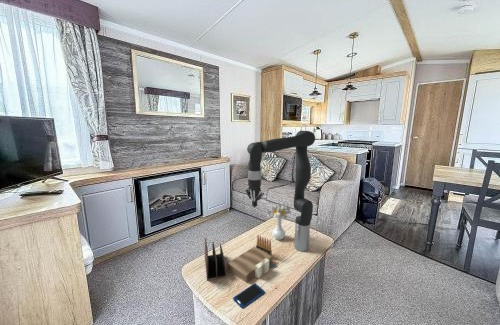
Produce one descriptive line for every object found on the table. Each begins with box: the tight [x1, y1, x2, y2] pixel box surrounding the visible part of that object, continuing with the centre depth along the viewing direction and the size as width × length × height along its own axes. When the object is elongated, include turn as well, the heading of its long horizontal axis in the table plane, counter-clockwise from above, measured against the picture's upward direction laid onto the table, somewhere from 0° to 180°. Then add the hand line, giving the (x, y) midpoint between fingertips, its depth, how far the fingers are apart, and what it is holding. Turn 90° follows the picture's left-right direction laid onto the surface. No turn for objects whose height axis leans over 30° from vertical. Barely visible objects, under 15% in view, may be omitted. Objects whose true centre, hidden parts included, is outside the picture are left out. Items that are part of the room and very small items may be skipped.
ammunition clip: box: [255, 234, 273, 257], centre depth 124 cm, size 11×2×12 cm, turn 51°
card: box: [254, 258, 270, 279], centre depth 108 cm, size 9×6×2 cm
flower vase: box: [264, 201, 292, 241], centre depth 142 cm, size 13×18×25 cm
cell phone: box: [232, 283, 266, 309], centre depth 94 cm, size 7×14×1 cm, turn 131°
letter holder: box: [204, 237, 227, 281], centre depth 113 cm, size 10×20×14 cm, turn 16°
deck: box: [226, 246, 273, 283], centre depth 114 cm, size 22×14×4 cm, turn 137°
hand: (254, 206), depth 120 cm, fingers closed
